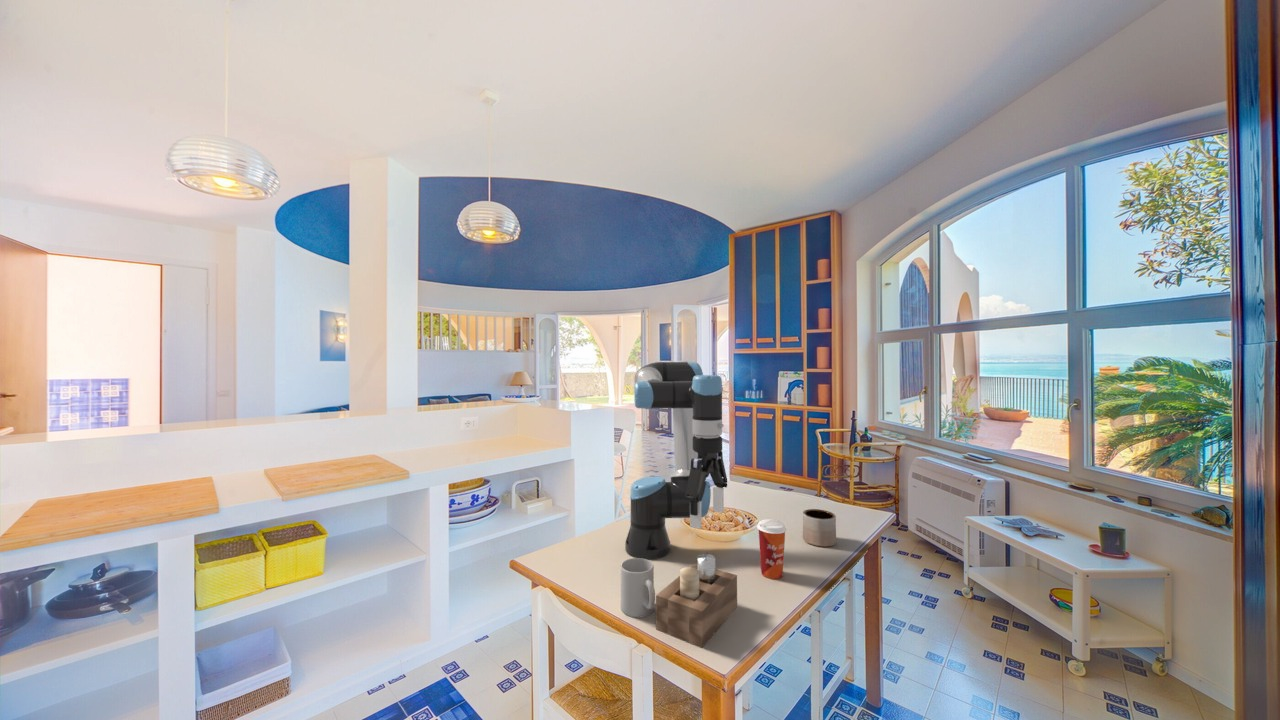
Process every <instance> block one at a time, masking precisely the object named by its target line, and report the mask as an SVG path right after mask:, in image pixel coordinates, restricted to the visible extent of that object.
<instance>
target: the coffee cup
mask: <svg viewBox="0 0 1280 720" xmlns="http://www.w3.org/2000/svg"><path fill="white" fill-rule="evenodd" d="M756 528H757V530H758V540H759V543H758V544H759V556H760V557H759V558H760V573H761V576H763V578H764V577H765V578H766V579H770V580H779V579H781V578H783V572H784V562H785V561H784V559H785V556H784V555H785V543H786V542H785V541H786V540H785V539H786V532H787V527H786V526H785V523H783V522H782V521H780V520H776V519H770V518H767V519H766V518H765V519H762V520H760V521H759V522H758V524H757V526H756Z"/></svg>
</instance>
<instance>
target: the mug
mask: <svg viewBox="0 0 1280 720" xmlns="http://www.w3.org/2000/svg"><path fill="white" fill-rule="evenodd" d="M654 574H655V573H654V563H653V562H652V561H651V560H650V559H645V558H638V557H632V558H629V559H626V560H624V561H622V562H621V564H620V610H621V612H622V613H623V614H624V615H625V616H628V617H631V618H643V617H644V618H645V617H646V616H648V615H650V614H652V613H653V611H654V608H655V605H656V593H655V592H656V591H655V586H654V579H655V577H654Z"/></svg>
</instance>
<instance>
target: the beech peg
mask: <svg viewBox="0 0 1280 720" xmlns="http://www.w3.org/2000/svg"><path fill="white" fill-rule="evenodd" d="M679 576H680V597H683V598H686V599H689V600H692V601H696V600H697V599H698V598H699V571H698V570H697V569H696V568H692V567H691V566H690V567H689V566H686V567H683V568H681V569H680V570H679Z"/></svg>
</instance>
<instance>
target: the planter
mask: <svg viewBox="0 0 1280 720" xmlns="http://www.w3.org/2000/svg"><path fill="white" fill-rule="evenodd" d="M802 539H803V541H805V543H807V544H809V545H811V546H814V547H815V546H816V547H817V548H819V547H820V548H829V547H833V546H835V545H836V544H837V516H836V514H835V513H833V512H832V511H828V510H826V509H825V510H824V509H819V508H817V509H816V508H808V509H805V510H803V512H802Z"/></svg>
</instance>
